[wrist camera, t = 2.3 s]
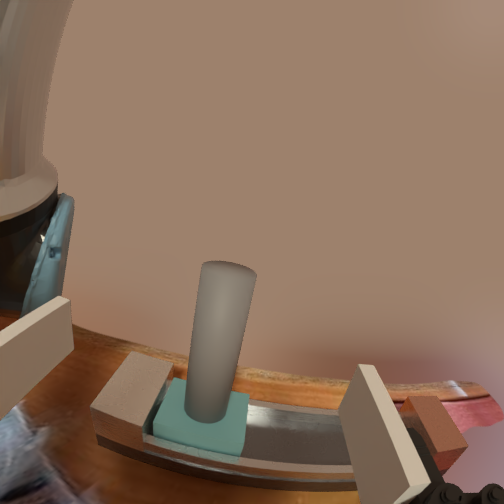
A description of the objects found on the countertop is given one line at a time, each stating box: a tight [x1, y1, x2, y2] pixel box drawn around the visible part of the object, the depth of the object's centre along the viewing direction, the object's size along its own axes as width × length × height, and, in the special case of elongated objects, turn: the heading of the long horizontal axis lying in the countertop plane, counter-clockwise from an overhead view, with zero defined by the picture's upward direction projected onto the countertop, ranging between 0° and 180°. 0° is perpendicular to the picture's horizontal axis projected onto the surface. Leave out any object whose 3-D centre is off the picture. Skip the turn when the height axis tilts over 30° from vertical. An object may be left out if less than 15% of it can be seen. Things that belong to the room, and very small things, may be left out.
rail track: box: [90, 351, 468, 492], centre depth 25 cm, size 38×10×6 cm, turn 86°
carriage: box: [153, 261, 257, 457], centre depth 23 cm, size 8×7×17 cm
